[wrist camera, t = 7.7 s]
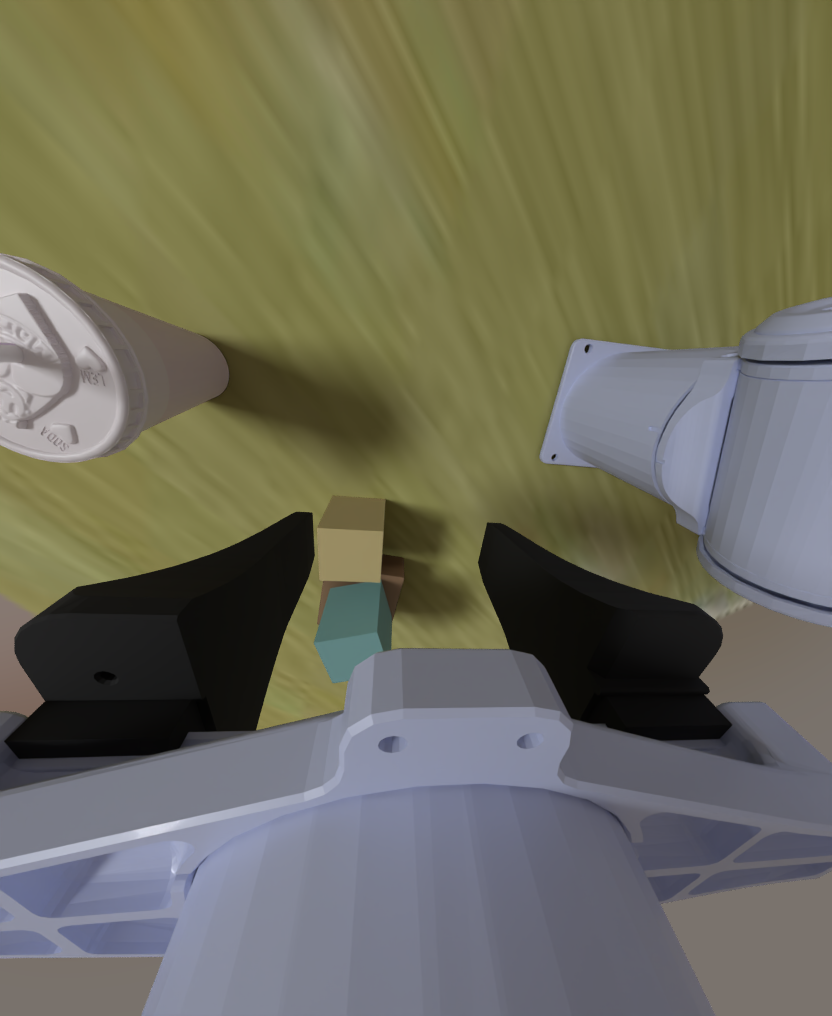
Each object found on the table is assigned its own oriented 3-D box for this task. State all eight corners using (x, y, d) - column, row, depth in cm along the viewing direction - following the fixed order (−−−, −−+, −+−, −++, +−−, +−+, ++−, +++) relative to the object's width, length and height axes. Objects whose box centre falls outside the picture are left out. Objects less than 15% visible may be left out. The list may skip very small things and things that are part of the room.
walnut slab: (403, 555, 26) (404, 577, 23) (389, 607, 28) (389, 632, 25) (332, 543, 25) (325, 565, 22) (324, 598, 27) (317, 624, 24)
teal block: (391, 617, 25) (390, 673, 20) (344, 625, 25) (332, 683, 20) (381, 579, 23) (376, 632, 18) (330, 588, 23) (313, 642, 18)
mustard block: (385, 498, 23) (383, 531, 18) (383, 542, 25) (380, 582, 20) (332, 495, 23) (317, 527, 18) (333, 540, 24) (319, 580, 20)
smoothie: (267, 350, 18) (-25, 316, 6) (232, 439, 20) (-38, 562, 8) (153, 277, 16) (-673, -20, 4) (127, 383, 18) (-453, 425, 6)
